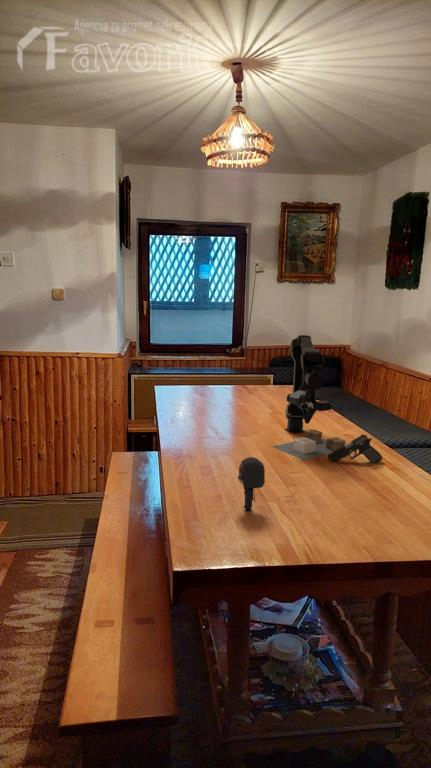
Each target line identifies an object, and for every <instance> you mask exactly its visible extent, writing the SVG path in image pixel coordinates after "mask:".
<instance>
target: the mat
mask: <svg viewBox="0 0 431 768" xmlns="http://www.w3.org/2000/svg"><path fill="white" fill-rule="evenodd" d="M326 442H327V439H325V438H322V441H321V442H318V443H316V447H315V452H310V453H306V454H303V453H300V452H298V451H295V450H293V441H291V442H287V443H281V444H276V445H272V446H271V448H274V449H277V450H278V451H280V452H283V453H285V454H287V455H290V456H293V457H294V458H297V459H300V460H302V461H307V460H311V459H315V458H319V457H324V456H327V455H328V454H330V453H332V452H333V451H331V450H329V449H327V448H326Z"/></svg>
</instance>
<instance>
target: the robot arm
mask: <svg viewBox="0 0 431 768" xmlns="http://www.w3.org/2000/svg"><path fill="white" fill-rule="evenodd" d="M289 345H290V346H289V352H290V356H291V358H292V360H293V363H294V364H293V365H294V366H293V379H292V380H293V381H292V382H293V383H292V393H289V394H287V396H286V401H287V402H288V403H287V404H286V408H285V410H284V412H285V413H284V414H285V418H286V419H287V424H286V425H287V426H286V427H287V428H285V429H284V431H287V432H289V433H291V434H298V433H305V431H306V430H305V429H304V424H307V425H309V423H310V422H311V420H312V418H313V417H314V415H315V413H317V411H318V412H324V411H330V410H332V407H333V406H332V403H331V401H328V400H327V401H326V400H320V397H318V396H317V395H318V391H319V390H321V388H322V386H323V385H324V383H325V379H324V378H323V376H322V375H321V374H320V372H321V371H324V370H325V367H326V364H325V358H324V356H323V355H324V354H322V351H320V349H317V348H316V347H315V346H314V344H313V341H312V336H311V335H307V334H300V335H298V336H297V337H296V338H294V339H292V340H291V342H290V344H289Z"/></svg>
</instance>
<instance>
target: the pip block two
mask: <svg viewBox="0 0 431 768" xmlns="http://www.w3.org/2000/svg"><path fill="white" fill-rule="evenodd" d="M326 440H327V442H326V448H327V449H329V450H331V451H333V452H334V451H335V450H337V449H339V448H340V447H342V446H345V445H346V439H342V438H341V437H337V436H334V437H326Z"/></svg>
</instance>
